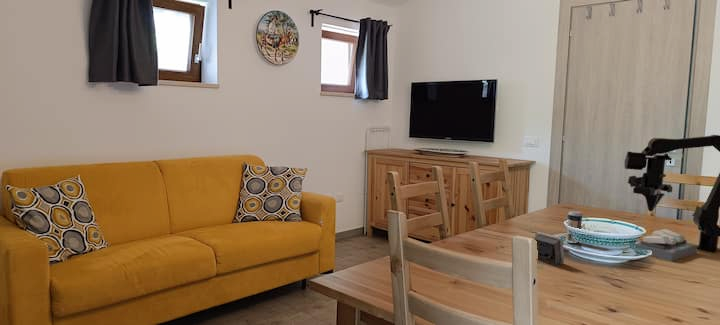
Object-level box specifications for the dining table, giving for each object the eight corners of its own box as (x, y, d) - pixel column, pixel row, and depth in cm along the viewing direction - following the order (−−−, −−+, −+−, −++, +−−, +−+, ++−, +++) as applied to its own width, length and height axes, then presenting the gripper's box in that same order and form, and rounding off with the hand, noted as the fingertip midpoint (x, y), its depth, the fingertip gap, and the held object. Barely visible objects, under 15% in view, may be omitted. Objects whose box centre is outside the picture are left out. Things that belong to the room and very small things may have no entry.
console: (660, 244, 184) (661, 233, 184) (696, 253, 175) (697, 241, 174) (634, 252, 173) (635, 240, 173) (671, 261, 163) (672, 249, 163)
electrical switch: (564, 264, 157) (565, 236, 155) (556, 268, 154) (556, 240, 152) (538, 256, 164) (539, 230, 162) (530, 260, 161) (530, 233, 159)
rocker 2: (656, 234, 178) (658, 229, 177) (675, 243, 173) (678, 239, 172) (651, 235, 176) (653, 231, 175) (670, 245, 171) (673, 240, 170)
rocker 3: (663, 233, 182) (665, 228, 181) (683, 241, 176) (685, 236, 176) (658, 234, 179) (660, 229, 179) (678, 242, 174) (680, 237, 173)
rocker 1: (648, 240, 175) (648, 235, 175) (669, 242, 169) (669, 236, 169) (643, 242, 172) (642, 236, 173) (664, 243, 167) (663, 237, 167)
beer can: (580, 245, 179) (583, 213, 178) (567, 244, 180) (570, 212, 179) (577, 241, 184) (580, 211, 183) (564, 240, 185) (567, 210, 184)
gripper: (644, 167, 195) (640, 204, 197) (621, 169, 185) (617, 209, 186) (675, 170, 186) (670, 210, 188) (651, 173, 175) (647, 215, 177)
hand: (650, 211), depth 185 cm, fingers closed
